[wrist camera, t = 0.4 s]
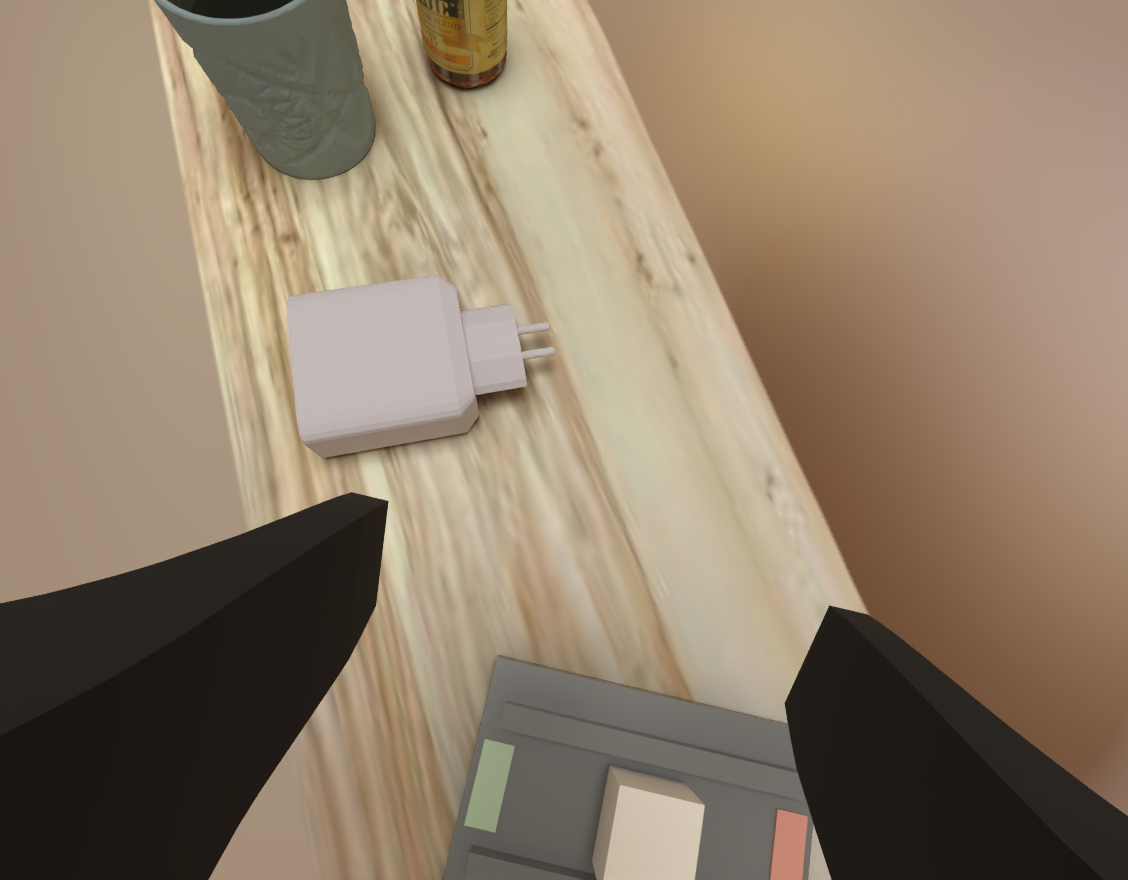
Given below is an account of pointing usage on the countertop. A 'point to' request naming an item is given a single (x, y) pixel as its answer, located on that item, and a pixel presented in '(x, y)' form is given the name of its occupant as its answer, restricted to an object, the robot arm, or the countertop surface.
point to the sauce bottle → (464, 39)
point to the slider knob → (647, 828)
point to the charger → (397, 363)
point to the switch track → (631, 741)
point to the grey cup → (285, 77)
